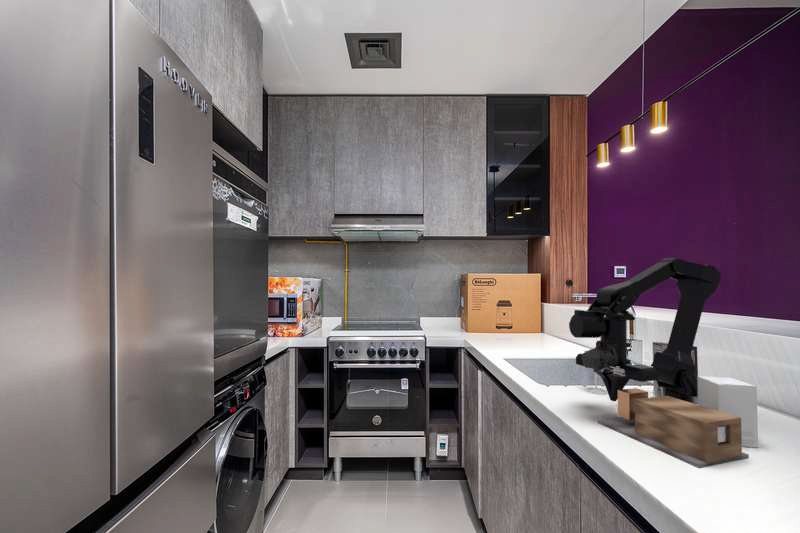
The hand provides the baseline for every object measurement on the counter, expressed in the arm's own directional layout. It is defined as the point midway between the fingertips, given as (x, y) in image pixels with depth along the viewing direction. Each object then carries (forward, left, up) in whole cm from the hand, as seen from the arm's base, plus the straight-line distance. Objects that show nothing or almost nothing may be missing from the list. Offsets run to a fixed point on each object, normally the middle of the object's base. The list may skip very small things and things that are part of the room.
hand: (613, 400), depth 91 cm
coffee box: (-31, -6, -4) cm, 32 cm away
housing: (0, +13, -4) cm, 13 cm away
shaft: (0, +13, -2) cm, 14 cm away
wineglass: (-14, -18, -4) cm, 24 cm away
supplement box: (-13, +17, -4) cm, 22 cm away
